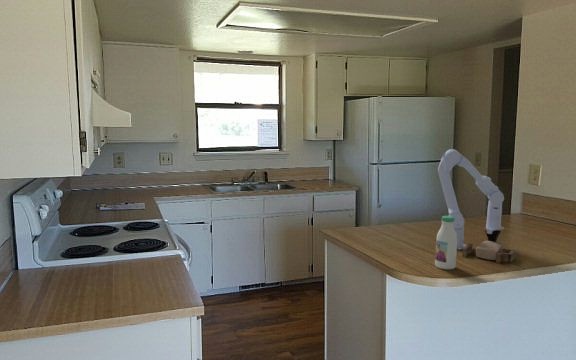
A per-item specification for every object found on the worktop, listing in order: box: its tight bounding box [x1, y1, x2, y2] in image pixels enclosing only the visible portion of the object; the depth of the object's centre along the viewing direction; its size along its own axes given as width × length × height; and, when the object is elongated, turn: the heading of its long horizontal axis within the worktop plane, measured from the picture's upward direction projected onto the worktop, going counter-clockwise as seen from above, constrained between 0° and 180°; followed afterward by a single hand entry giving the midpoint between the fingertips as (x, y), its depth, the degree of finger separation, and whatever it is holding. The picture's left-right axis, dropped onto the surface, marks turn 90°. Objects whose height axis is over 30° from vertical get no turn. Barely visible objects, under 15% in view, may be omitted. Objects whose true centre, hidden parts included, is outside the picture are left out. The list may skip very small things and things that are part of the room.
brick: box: [475, 240, 504, 261], centre depth 190 cm, size 17×8×5 cm, turn 145°
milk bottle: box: [434, 215, 458, 270], centre depth 173 cm, size 8×8×20 cm
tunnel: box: [461, 243, 516, 264], centre depth 186 cm, size 18×11×4 cm, turn 52°
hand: (491, 246), depth 198 cm, fingers closed
